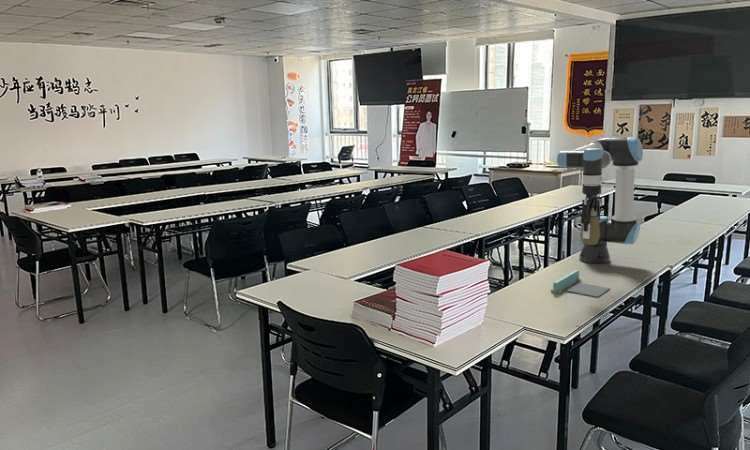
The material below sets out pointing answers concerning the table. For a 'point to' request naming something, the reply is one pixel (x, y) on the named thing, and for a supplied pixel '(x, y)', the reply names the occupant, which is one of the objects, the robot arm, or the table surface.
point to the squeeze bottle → (592, 230)
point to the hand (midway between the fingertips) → (590, 236)
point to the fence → (565, 282)
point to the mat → (588, 290)
